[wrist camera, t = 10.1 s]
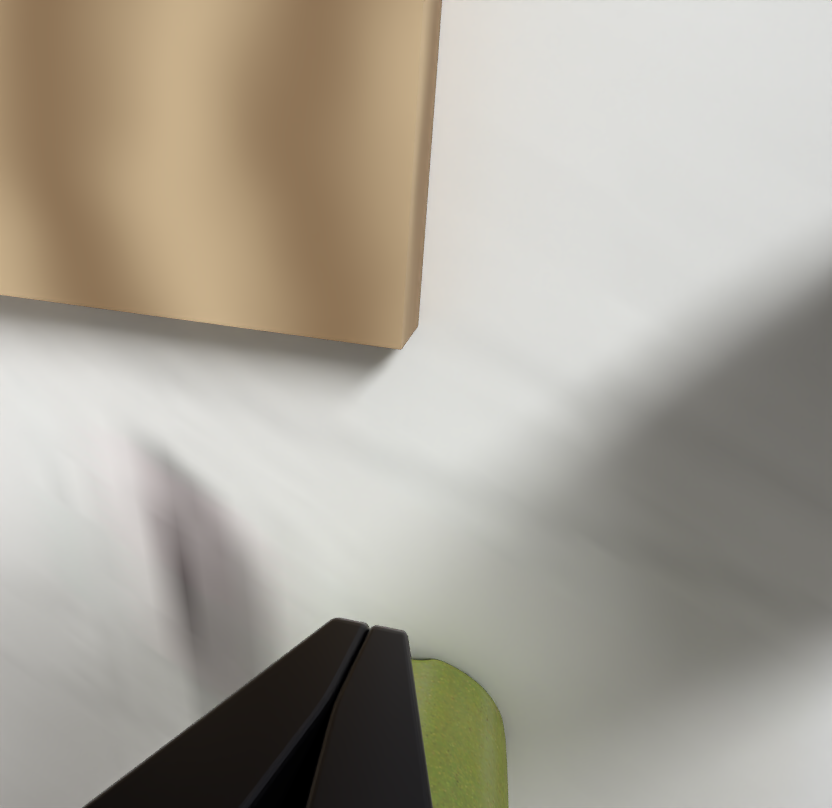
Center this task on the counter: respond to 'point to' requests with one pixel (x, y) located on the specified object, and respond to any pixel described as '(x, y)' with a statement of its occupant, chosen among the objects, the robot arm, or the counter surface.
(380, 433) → the counter surface
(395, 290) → the tan wooden slab
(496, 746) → the plant pot
